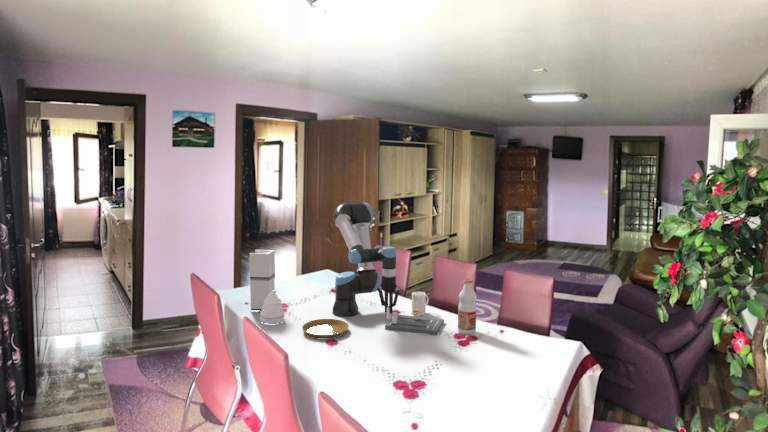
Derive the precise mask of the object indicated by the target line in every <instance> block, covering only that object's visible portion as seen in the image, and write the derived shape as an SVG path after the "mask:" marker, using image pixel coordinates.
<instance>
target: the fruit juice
mask: <svg viewBox="0 0 768 432" xmlns="http://www.w3.org/2000/svg"><path fill="white" fill-rule="evenodd" d="M462 283H463V288H462V290H461V291H460V292H459V294H458V298H459V299H458V300H459V302H458V308H457V312H458V313H457V317H458V318H457V331H458V333H460V334H461V335H462V334H463V335H473V334H475V333H476V330H477V304H476V302H477V294H476V292H475V290H474V287H473V284H474V281H473V279H471V278H465V279H463V282H462Z"/></svg>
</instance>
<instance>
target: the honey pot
mask: <svg viewBox="0 0 768 432" xmlns="http://www.w3.org/2000/svg"><path fill="white" fill-rule="evenodd" d="M276 293H277V289H275V290H272V292H270V293H269V294H268V295H267V297H266V299H265V300H264V301H263V303H264V304H263V306H262V311H261V313H260V323H261V322H263V323H268V324H277V323H281V322H283V321H284V322H285V311H284V308H283V304H282V302H283V301H282V299H281V298H279V296H278V294H276ZM284 322H283V323H284ZM281 324H282V323H281ZM277 325H278V324H277Z"/></svg>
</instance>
